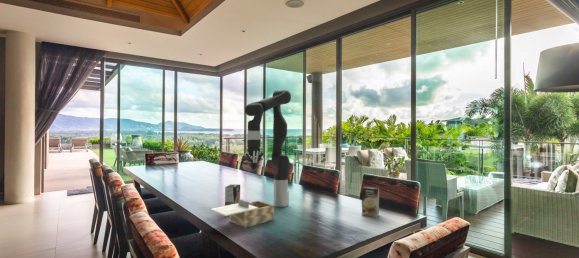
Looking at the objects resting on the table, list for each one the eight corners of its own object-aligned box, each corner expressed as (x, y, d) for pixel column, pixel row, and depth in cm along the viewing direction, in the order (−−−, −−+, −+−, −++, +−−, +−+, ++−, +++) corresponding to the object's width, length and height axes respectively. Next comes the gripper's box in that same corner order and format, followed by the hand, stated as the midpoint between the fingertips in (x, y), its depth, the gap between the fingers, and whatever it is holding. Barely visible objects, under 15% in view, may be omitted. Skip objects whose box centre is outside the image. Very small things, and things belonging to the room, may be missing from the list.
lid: (242, 203, 165) (242, 197, 165) (258, 208, 154) (258, 201, 154) (210, 209, 151) (210, 202, 151) (225, 216, 141) (225, 208, 141)
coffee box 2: (361, 215, 172) (361, 187, 172) (363, 212, 178) (363, 185, 178) (377, 217, 168) (377, 189, 168) (379, 214, 174) (379, 187, 174)
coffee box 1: (234, 215, 170) (235, 187, 170) (224, 214, 172) (224, 186, 172) (240, 210, 179) (240, 184, 179) (230, 210, 181) (230, 183, 181)
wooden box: (258, 214, 172) (258, 200, 172) (273, 219, 162) (273, 205, 162) (230, 221, 159) (230, 206, 159) (245, 227, 149) (245, 211, 149)
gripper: (259, 138, 175) (258, 167, 175) (240, 138, 165) (240, 169, 165) (267, 138, 169) (266, 169, 169) (248, 139, 160) (248, 171, 160)
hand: (253, 169), depth 167 cm, fingers closed
